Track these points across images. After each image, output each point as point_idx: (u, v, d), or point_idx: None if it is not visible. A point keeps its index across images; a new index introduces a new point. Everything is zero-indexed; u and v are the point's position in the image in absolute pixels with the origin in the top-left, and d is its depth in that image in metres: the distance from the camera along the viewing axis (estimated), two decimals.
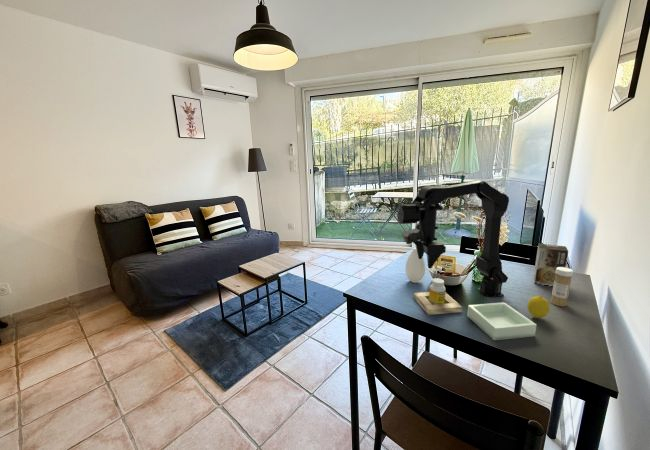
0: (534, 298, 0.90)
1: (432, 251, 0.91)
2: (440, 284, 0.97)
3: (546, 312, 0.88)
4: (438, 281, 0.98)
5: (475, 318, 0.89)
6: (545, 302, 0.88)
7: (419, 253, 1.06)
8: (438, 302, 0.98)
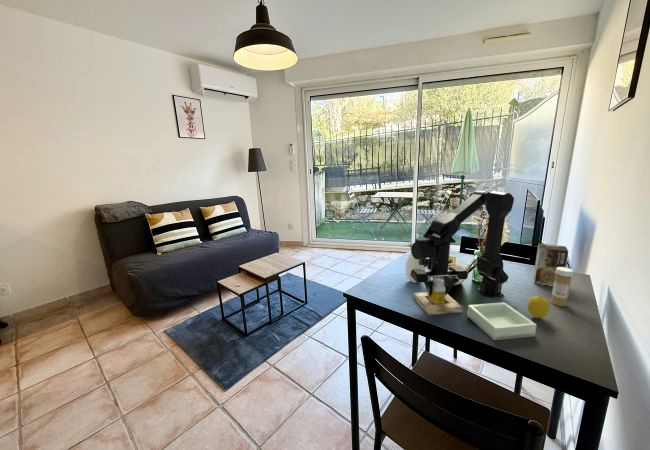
0: (534, 298, 0.90)
1: (411, 275, 0.99)
2: (440, 284, 0.97)
3: (546, 312, 0.88)
4: (438, 281, 0.98)
5: (475, 318, 0.89)
6: (545, 302, 0.88)
7: None
8: (438, 302, 0.98)
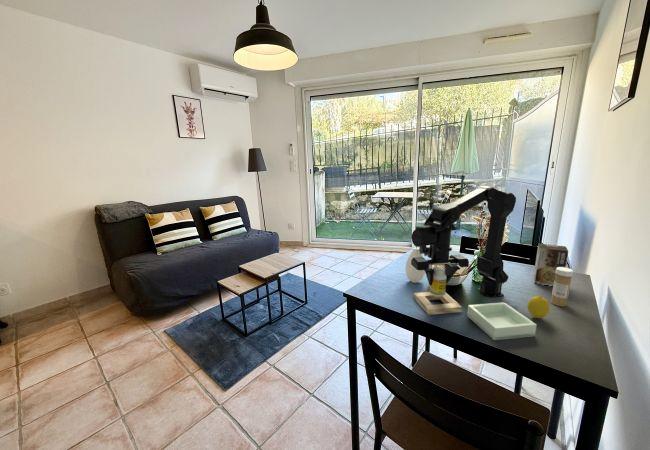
0: (534, 298, 0.90)
1: (412, 263, 0.98)
2: (441, 272, 0.96)
3: (546, 312, 0.88)
4: (439, 269, 0.97)
5: (475, 318, 0.89)
6: (545, 302, 0.88)
7: None
8: (439, 290, 0.97)
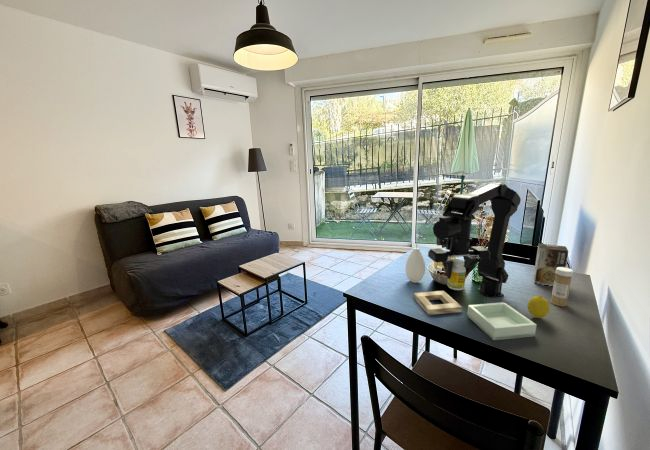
0: (534, 298, 0.90)
1: (429, 255, 0.93)
2: (460, 265, 0.91)
3: (546, 312, 0.88)
4: (458, 261, 0.92)
5: (475, 318, 0.89)
6: (545, 302, 0.88)
7: None
8: (458, 284, 0.92)
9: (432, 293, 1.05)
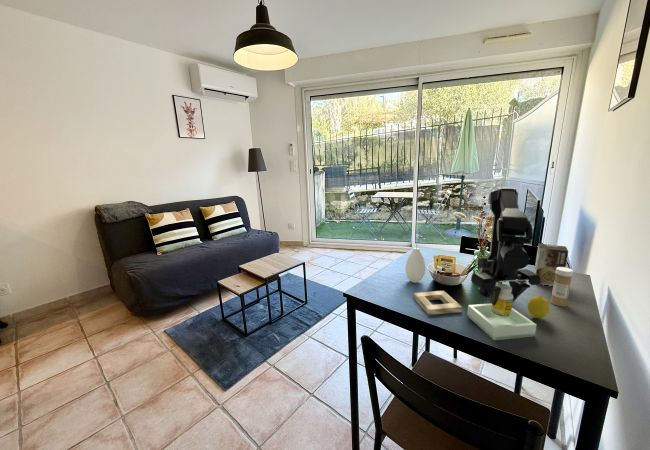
0: (534, 298, 0.90)
1: (473, 280, 0.85)
2: (508, 291, 0.83)
3: (546, 312, 0.88)
4: (505, 287, 0.84)
5: (475, 318, 0.89)
6: (545, 302, 0.88)
7: None
8: (505, 311, 0.84)
9: (432, 293, 1.05)
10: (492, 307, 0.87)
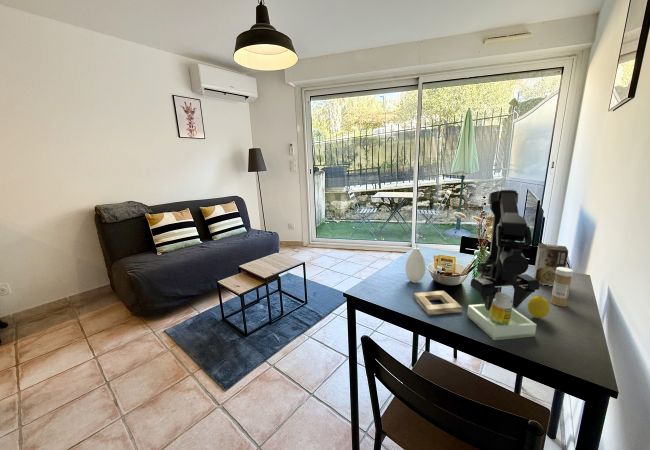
0: (534, 298, 0.90)
1: (472, 285, 0.85)
2: (507, 300, 0.84)
3: (546, 312, 0.88)
4: (504, 296, 0.85)
5: (475, 318, 0.89)
6: (545, 302, 0.88)
7: (514, 300, 0.87)
8: (503, 320, 0.85)
9: (432, 293, 1.05)
10: (491, 315, 0.87)
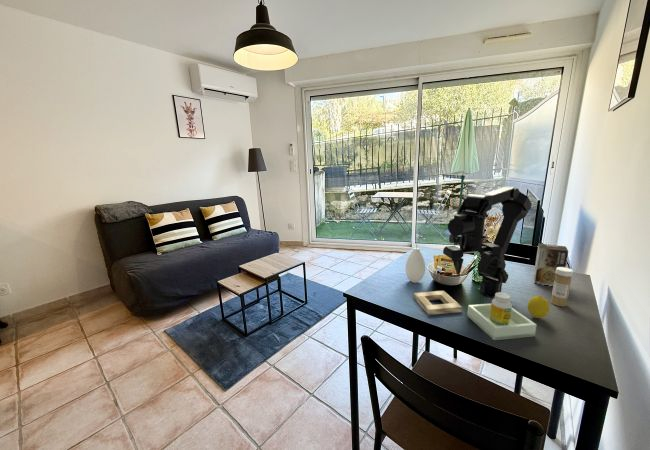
0: (534, 298, 0.90)
1: (444, 252, 0.97)
2: (506, 300, 0.84)
3: (546, 312, 0.88)
4: (503, 296, 0.85)
5: (475, 318, 0.89)
6: (545, 302, 0.88)
7: (481, 265, 0.99)
8: (503, 320, 0.85)
9: (432, 293, 1.05)
10: (491, 316, 0.87)
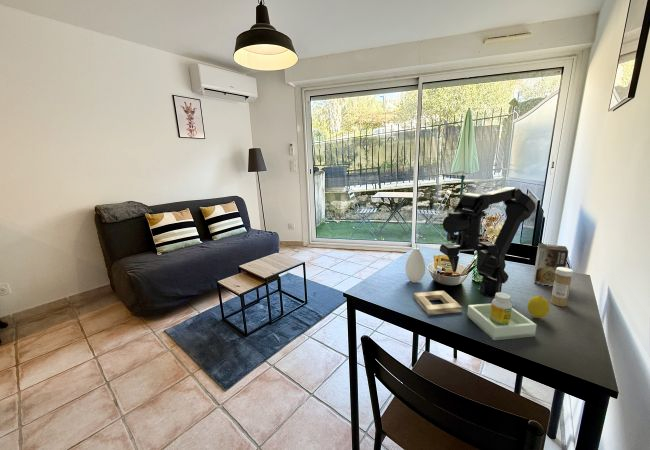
0: (534, 298, 0.90)
1: (441, 250, 0.99)
2: (507, 300, 0.84)
3: (546, 312, 0.88)
4: (503, 296, 0.85)
5: (475, 318, 0.89)
6: (545, 302, 0.88)
7: (477, 263, 1.01)
8: (503, 320, 0.85)
9: (432, 293, 1.05)
10: (491, 316, 0.87)
